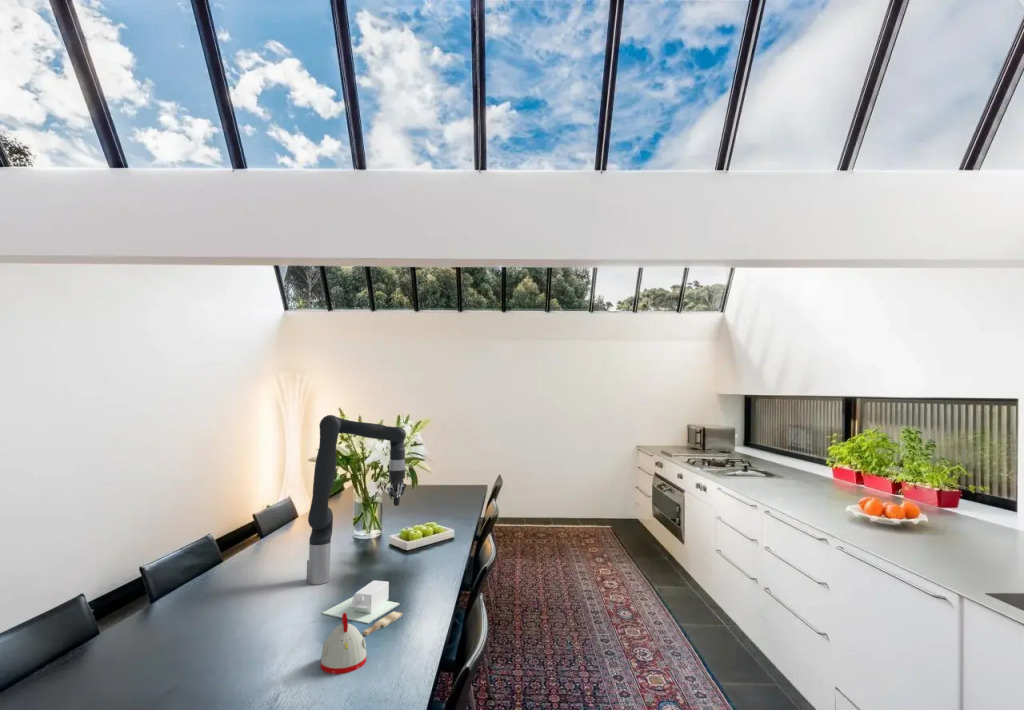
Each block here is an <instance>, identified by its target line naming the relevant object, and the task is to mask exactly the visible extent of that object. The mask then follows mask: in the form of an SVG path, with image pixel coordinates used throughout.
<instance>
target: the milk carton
mask: <svg viewBox="0 0 1024 710" xmlns="http://www.w3.org/2000/svg"><path fill="white" fill-rule="evenodd" d="M389 585H390V582H389V581H384V580H372V581H370V582H369V583H368V584H366V585H365V586H364V587H362V588H361V589H358V591H356V592H355V593H354V595H353V596H354V597H353V596H352V597H353V600H352V603H351V605H350V606H349V607H352V609H353V610H354V612H361V613H370V614H371V613H372V612H373V611H375V610H376V609H377V608H378V607H380V606H381V605H382V604H383V603H384V602H386V601H389V593H390V591H389V589H390V587H389Z"/></svg>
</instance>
